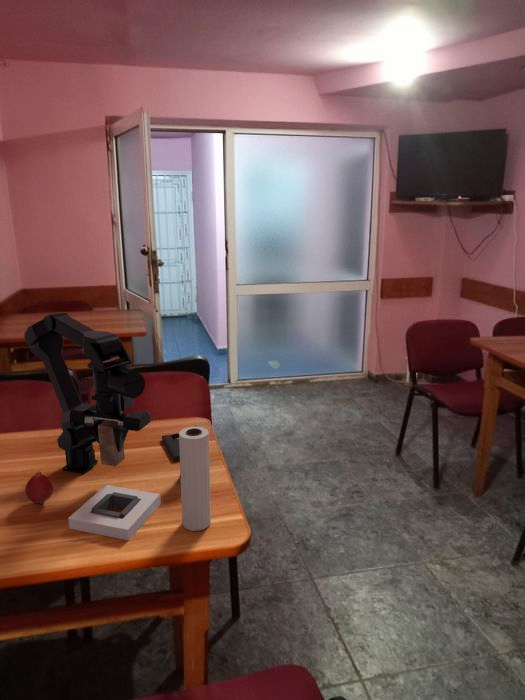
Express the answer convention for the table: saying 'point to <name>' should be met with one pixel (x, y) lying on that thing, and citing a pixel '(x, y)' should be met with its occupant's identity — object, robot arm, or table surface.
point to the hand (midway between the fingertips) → (112, 449)
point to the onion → (39, 488)
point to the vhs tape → (172, 445)
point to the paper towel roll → (195, 477)
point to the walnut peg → (109, 444)
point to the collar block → (112, 523)
